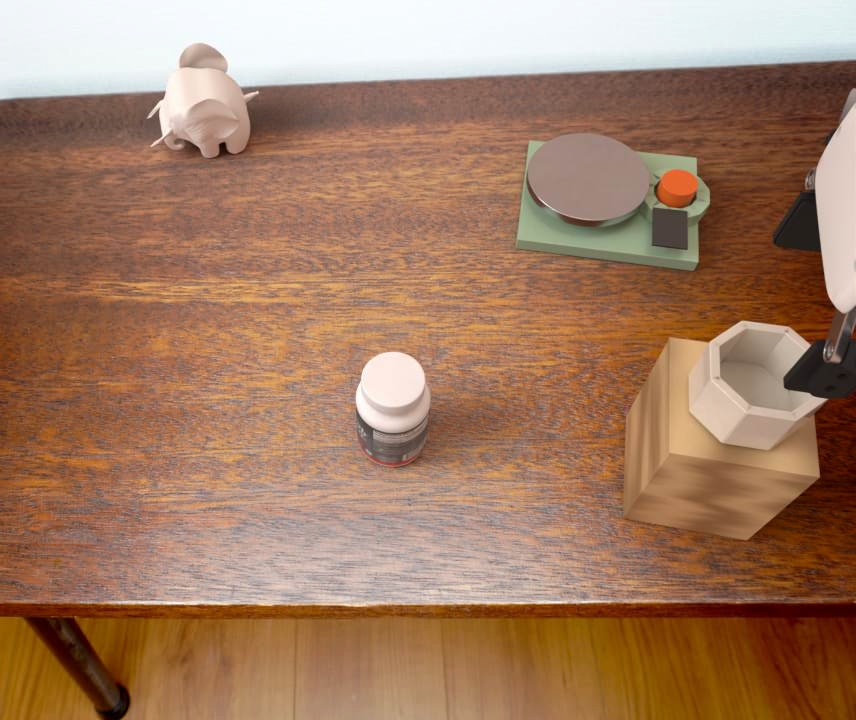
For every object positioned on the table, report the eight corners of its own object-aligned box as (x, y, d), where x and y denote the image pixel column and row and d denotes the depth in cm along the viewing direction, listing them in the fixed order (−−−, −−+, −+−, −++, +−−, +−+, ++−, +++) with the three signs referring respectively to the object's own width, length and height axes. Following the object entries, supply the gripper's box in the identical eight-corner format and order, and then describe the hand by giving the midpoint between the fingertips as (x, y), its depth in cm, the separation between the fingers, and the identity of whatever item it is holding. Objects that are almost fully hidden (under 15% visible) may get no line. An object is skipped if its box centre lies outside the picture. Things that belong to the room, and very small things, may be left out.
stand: (742, 434, 66) (808, 356, 56) (746, 540, 61) (820, 477, 51) (625, 416, 67) (669, 336, 57) (622, 518, 63) (669, 452, 53)
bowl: (792, 367, 55) (823, 330, 51) (800, 458, 52) (833, 426, 48) (686, 352, 56) (709, 315, 52) (687, 440, 53) (711, 407, 49)
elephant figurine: (149, 120, 89) (128, 51, 82) (257, 99, 90) (246, 29, 82) (158, 182, 84) (136, 116, 77) (272, 160, 85) (261, 92, 77)
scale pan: (686, 150, 78) (689, 143, 77) (687, 250, 72) (690, 243, 71) (531, 134, 80) (532, 127, 79) (519, 229, 74) (521, 222, 73)
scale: (698, 168, 81) (708, 145, 78) (700, 272, 74) (711, 251, 72) (527, 150, 83) (532, 127, 81) (515, 248, 77) (519, 227, 74)
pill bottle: (357, 406, 69) (354, 344, 61) (425, 406, 69) (431, 343, 60) (357, 469, 66) (354, 412, 58) (427, 469, 66) (434, 412, 57)
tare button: (692, 184, 76) (698, 171, 75) (692, 210, 75) (698, 197, 73) (656, 180, 77) (661, 167, 75) (655, 206, 75) (661, 193, 74)
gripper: (1200, 249, 26) (900, 467, 41) (1070, -70, 34) (861, 205, 49) (939, 219, 27) (740, 441, 42) (876, -83, 36) (729, 189, 50)
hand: (806, 313), depth 45 cm, fingers open, 9 cm apart
